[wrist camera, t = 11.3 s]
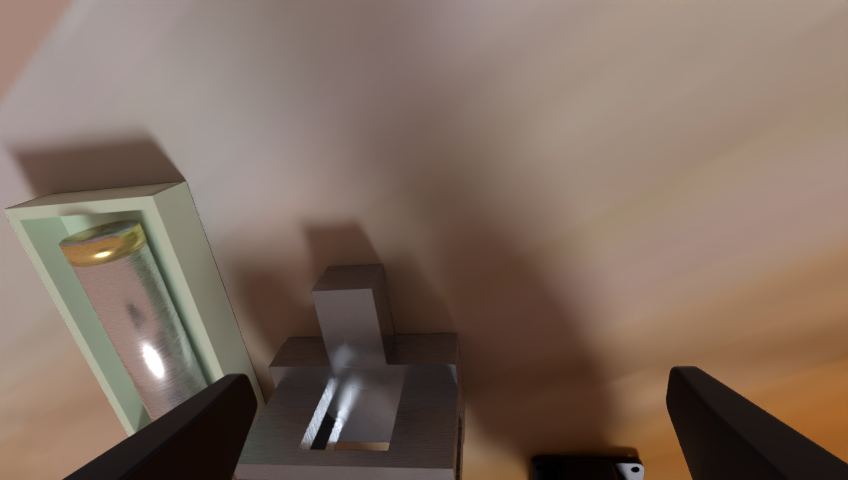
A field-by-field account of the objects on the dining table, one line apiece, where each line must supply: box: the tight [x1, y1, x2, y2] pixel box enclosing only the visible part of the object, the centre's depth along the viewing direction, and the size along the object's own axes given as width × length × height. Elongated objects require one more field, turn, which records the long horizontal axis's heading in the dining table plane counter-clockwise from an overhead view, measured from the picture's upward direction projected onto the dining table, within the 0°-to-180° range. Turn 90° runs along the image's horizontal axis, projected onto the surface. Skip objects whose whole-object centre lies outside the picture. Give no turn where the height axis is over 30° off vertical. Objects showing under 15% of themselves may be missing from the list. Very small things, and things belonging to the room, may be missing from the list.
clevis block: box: [234, 264, 465, 480], centre depth 21 cm, size 10×10×7 cm
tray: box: [3, 181, 266, 437], centre depth 24 cm, size 16×8×2 cm, turn 7°
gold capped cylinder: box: [59, 220, 208, 422], centre depth 23 cm, size 12×3×3 cm, turn 7°
